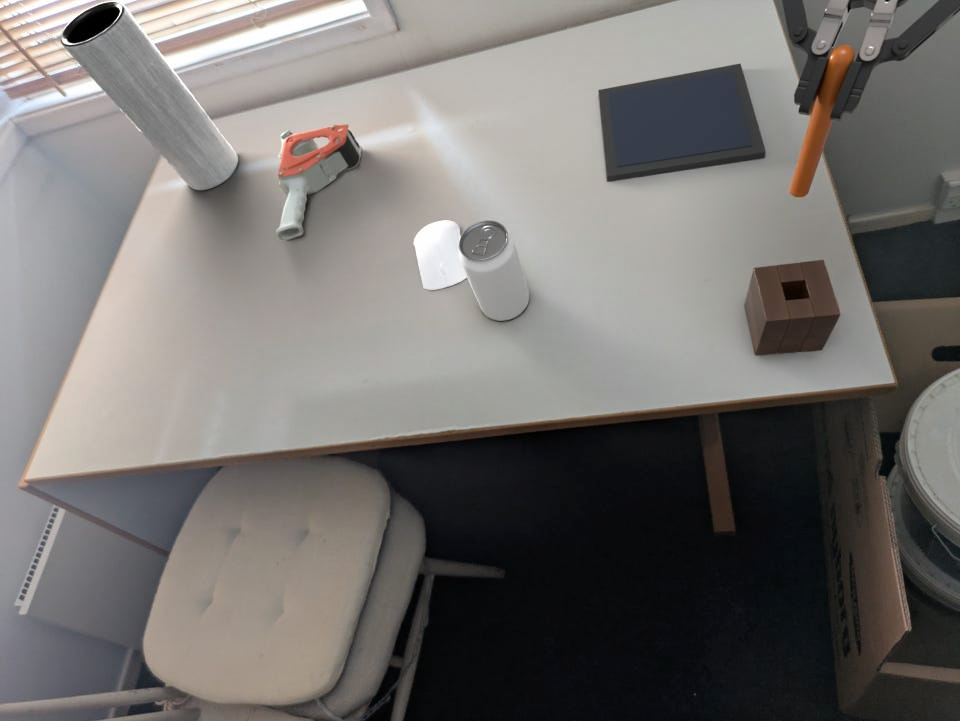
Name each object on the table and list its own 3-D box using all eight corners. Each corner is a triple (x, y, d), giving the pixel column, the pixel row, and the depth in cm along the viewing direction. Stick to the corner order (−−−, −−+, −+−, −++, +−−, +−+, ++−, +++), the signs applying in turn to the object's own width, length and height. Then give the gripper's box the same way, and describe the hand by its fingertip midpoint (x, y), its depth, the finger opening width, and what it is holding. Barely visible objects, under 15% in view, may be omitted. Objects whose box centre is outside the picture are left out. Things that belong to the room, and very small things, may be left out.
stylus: (806, 183, 53) (854, 37, 41) (810, 196, 52) (860, 52, 40) (787, 185, 53) (829, 42, 42) (791, 199, 53) (835, 56, 41)
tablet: (739, 69, 85) (740, 62, 84) (764, 157, 76) (766, 151, 75) (598, 95, 89) (598, 89, 88) (607, 181, 81) (606, 175, 80)
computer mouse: (423, 294, 79) (417, 284, 77) (413, 230, 85) (407, 219, 83) (471, 280, 78) (467, 269, 76) (457, 216, 84) (453, 204, 82)
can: (537, 285, 75) (520, 221, 65) (519, 327, 72) (499, 267, 62) (491, 276, 77) (467, 213, 67) (472, 317, 75) (445, 258, 65)
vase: (209, 198, 100) (80, 52, 77) (177, 181, 105) (47, 38, 82) (249, 158, 103) (136, 6, 80) (217, 143, 107) (101, -5, 85)
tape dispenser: (294, 255, 91) (390, 171, 92) (274, 234, 86) (377, 147, 88) (243, 199, 99) (333, 123, 101) (222, 177, 94) (317, 98, 96)
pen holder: (807, 298, 65) (823, 259, 59) (822, 350, 62) (841, 314, 56) (743, 305, 67) (753, 267, 61) (755, 355, 63) (766, 321, 58)
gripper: (814, -202, 37) (717, 94, 44) (1090, -214, 31) (930, 130, 38) (820, -146, 43) (734, 106, 50) (1052, -147, 37) (920, 139, 44)
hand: (819, 115), depth 44 cm, fingers closed on stylus, 1 cm apart
